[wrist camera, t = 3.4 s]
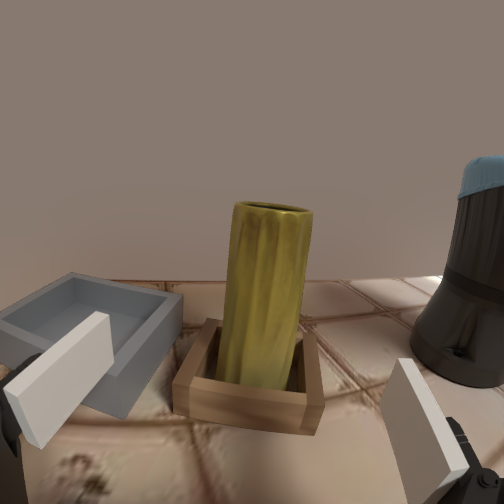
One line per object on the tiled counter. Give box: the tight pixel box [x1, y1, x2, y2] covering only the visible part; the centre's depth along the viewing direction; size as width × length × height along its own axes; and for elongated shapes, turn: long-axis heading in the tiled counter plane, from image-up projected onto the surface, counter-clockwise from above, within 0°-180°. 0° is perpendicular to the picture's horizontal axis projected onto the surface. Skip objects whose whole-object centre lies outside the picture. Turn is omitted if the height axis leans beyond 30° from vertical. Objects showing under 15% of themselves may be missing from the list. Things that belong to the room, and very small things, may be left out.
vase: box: [214, 201, 313, 391], centre depth 22 cm, size 6×6×14 cm
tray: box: [0, 272, 183, 420], centre depth 24 cm, size 14×14×4 cm
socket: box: [172, 318, 325, 436], centre depth 23 cm, size 10×10×3 cm
